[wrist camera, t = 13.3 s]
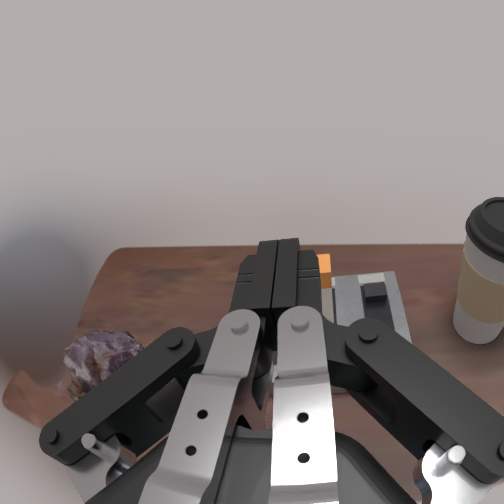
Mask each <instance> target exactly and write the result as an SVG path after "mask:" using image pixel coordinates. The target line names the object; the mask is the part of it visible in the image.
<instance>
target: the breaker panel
mask: <svg viewBox="0 0 504 504" xmlns="http://www.w3.org/2000/svg"><path fill="white" fill-rule="evenodd" d="M331 279H332V300H333V315H334V323H335V324H338V325H343V326H348V327H349V325H350V324H352V323H353V322H354V321H356V320H358V319H362V318H375V319H378V320H381V321H382V322H384V323H385V324H387V325H388V326H389V327H390V328H392V329H393V330H394V331H396V332H397V333H398V334H400V335H401V336H402V337H404V338H405V339H406V340H407V341H409V342H410V343H411V344H412V342H411V337H410V333H409V328H408V324H407V320H406V315H405V311H404V307H403V303H402V299H401V295H400V291H399V287H398V284H397V280H396V276H395V273H394V271H389V272H379V273H369V274H358V275H348V276H336V277H331ZM272 362H273V365H274V373H273V378H272V383H271V388H270V393H269V396H274V380H275V377H277V364H278V351H273V354H272ZM330 389H331V394H341V393H348V392H347V391H346V389H344V388H340V387H336V386H332V385H330Z"/></svg>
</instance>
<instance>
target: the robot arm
mask: <svg viewBox="0 0 504 504" xmlns="http://www.w3.org/2000/svg"><path fill="white" fill-rule="evenodd" d="M273 351H278V364H277V377H275V380H274V400H273V428H271V429H266V424H265V413H266V408H267V403H268V398H269V393H270V388H271V383H272V378H273V373H274V365H273V362H272V354H273ZM174 378H175V379H174ZM173 379H174V380H173ZM171 380H173V381H172V382H170V381H171ZM169 382H170V383H169ZM168 383H169V384H168ZM166 384H168V385H167V386H165V385H166ZM330 385H332V386H336V387H340V388H344V389H346V391H347V392H348V393H349V394H350V395H351V396H352V397H353V398H354V399H355V400H356V401H357V402H358V403H359V404H360V405H361V406H362V407H363V408H364V409H365V410H366V411H367V412H368V413H369V414H370V415H371V416H373V417H374V418H375V419H376V420H377V421H378V422H379V423H380V424H381V425H382V426H383V427H384V428H385V429H386V430H387V431H388V432H389V433H390V434H391V435H392V436H393V437H394V438H396V439H397V440H398V441H399V442H400V443H401V444H402V445H403V446H404V447H405V448H406V449H407V450H408V451H409V452H410V453H411V454H413V455H414V456H415V457H416V458H417V459H418V460H419V461H418V462H417V464H416V466H415V468H414V471H413V479H414V483H415V485H416V486H417V488H418V489H419V490H420V492H421V495H422V504H479V502H480V501H481V500H482V499H483V498H484V497H485V495H486V494H487V493H488V492H489V490H490V489H491V488H492V487H493V486H494V485H495V484H496V483H498V482H499V481H501V480H502V479H504V417H503V416H502V415H501V414H499V413H498V412H497V411H496V410H495V409H493V408H492V407H491V406H490V405H488V404H487V403H486V402H485V401H483V400H482V399H481V398H480V397H478V396H477V395H476V394H475V393H473V392H472V391H471V390H470V389H468V388H467V387H466V386H465V385H463V384H462V383H461V382H460V381H458V380H457V379H456V378H455V377H453V376H452V375H451V374H450V373H448V372H447V371H446V370H445V369H443V368H442V367H441V366H439V365H438V364H437V363H436V362H434V361H433V360H432V359H431V358H429V357H428V356H427V355H425V354H424V353H423V352H422V351H420V350H419V349H418V348H416V347H415V346H414V345H413V344H411V343H410V342H409V341H407V340H406V339H405V338H404V337H402V336H401V335H400V334H398V333H397V332H396V331H394V330H393V329H392V328H390V327H389V326H388V325H387V324H385V323H384V322H382V321H381V320H378V319H375V318H362V319H358V320H356V321H354V322H353V323H352V324H350V325H349V327H348V326H343V325H338V324H335V323H332V322H331V321H329V320H328V319H326V318H325V317H324V315H323V314H322V293H321V279H320V269H319V259H318V257H317V255H316V254H315V252H314V251H313V250H303V251H300V245H299V239H298V238H291V239H281V240H270V241H260V242H259V246H258V251H257V255H248V256H247V257H246V258H245V259H244V261H243V262H242V263H241V264H240V268H239V272H238V277H237V281H236V285H235V289H234V293H233V298H232V302H231V306H230V310H229V313H228V314H227V315H226V316H224V317H223V318H222V320H221V321H220V323H219V326H217V327H216V328H214V329H212V330H209V331H205V332H202V333H198V334H195V335H193V333H192V332H191V331H190V330H189V329H187V328H183V327H178V328H173V329H170V330H168V331H167V332H165V333H164V334H162V335H161V336H160V337H159V338H157V339H156V340H155V341H153V342H152V343H151V344H150V345H148V346H147V347H146V348H145V349H143V350H142V351H141V352H139V353H138V354H137V355H135V356H134V357H133V358H132V359H130V360H129V361H128V362H126V363H125V364H124V365H123V366H121V367H120V368H119V369H117V370H116V371H115V372H114V373H112V374H111V375H110V376H108V377H107V378H106V379H104V380H103V381H102V382H101V383H99V384H98V385H97V386H95V387H94V388H93V389H92V390H90V391H89V392H88V393H86V394H85V395H84V396H82V397H81V398H80V399H78V400H77V401H76V402H75V403H73V404H72V405H71V406H69V407H68V408H67V409H65V410H64V411H63V412H61V413H60V414H59V415H58V416H56V417H55V418H54V419H52V420H51V421H50V422H48V423H47V424H46V425H45V426H44V427H43V429H42V431H41V433H40V438H39V443H40V447H41V449H42V451H43V452H44V453H45V454H47V455H49V456H51V457H52V458H54V459H55V460H57V461H59V462H60V463H62V464H64V465H65V467H66V469H67V471H68V473H69V475H70V477H71V479H72V481H73V483H74V485H75V487H76V489H77V491H78V493H79V494H80V496H81V498H82V500H83V502H84V504H417V503H416V502H415V501H414V500H413V499H412V498H411V497H410V496H409V495H408V494H407V493H406V492H405V491H404V489H403V488H402V487H401V486H400V485H399V484H398V483H397V482H396V481H395V480H394V479H393V478H392V477H391V476H390V475H389V473H388V472H387V471H386V470H385V469H384V468H383V467H382V466H381V465H380V464H379V463H378V462H377V460H376V459H375V458H374V457H373V456H372V455H371V454H370V453H369V452H368V451H367V450H366V449H365V447H364V446H362V445H361V444H360V443H359V442H357V441H356V440H354V439H352V438H351V437H349V436H346V435H344V434H341V433H338V432H335V431H334V423H333V411H332V399H331V389H330ZM164 386H165V387H164ZM163 387H164V388H163ZM161 388H163V389H162V390H160V389H161ZM159 390H160V391H159ZM158 391H159V392H158ZM156 392H158V393H157V394H155V393H156ZM154 394H155V395H154ZM153 395H154V396H153ZM151 396H153V397H152V398H150V397H151ZM149 398H150V399H149ZM265 429H266V430H265ZM169 432H170V434H169V436H168V437H167V438H165V439H164V440H163V441H161V442H160V443H159V444H158V445H157V446H156V447H154V448H153V449H152V450H151V451H150V452H148V453H147V454H146V455H145V456H144V457H142V458H141V459H140V460H139V461H137V462H136V458H137V457H138V456H139V455H141V454H142V453H143V452H144V451H146V450H147V449H148V448H150V447H151V446H152V445H153V444H155V443H156V442H157V441H159V440H160V439H161V438H162V437H164V436H165V435H166V434H167V433H169Z"/></svg>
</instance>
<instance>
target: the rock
mask: <svg viewBox="0 0 504 504" xmlns="http://www.w3.org/2000/svg"><path fill="white" fill-rule="evenodd" d="M143 349H144V348H143V347H142V345H141V344H140V343H138V342H137V341H136V340H135V339H134V338H133V336H132V335H131V334H130V333H129V332H127V331H98V330H95V331H93V332H88V333H86V334H83V335H82V336H81V338H78V339H76V340H75V341H74V342H73V343H72V344H71V346H70V347H68V348H66V349H65V350H64V355H65V359H64V363H65V364H66V365H67V367H68V368H69V369H70V370H71V372H72V373H71V378H72V384H71V385H70V386H69V387H68V389H67V390H68V395H69V396H70V397H71V398H72V399H73V400H74V401H75V402H76V401H77V400H78V399H80V398H81V397H82V396H84V395H85V394H86V393H88V392H89V391H90V390H92V389H93V388H94V387H95V386H97V385H98V384H99V383H101V382H102V381H103V380H104V379H106V378H107V377H108V376H110V375H111V374H112V373H114V372H115V371H116V370H117V369H119V368H120V367H121V366H123V365H124V364H125V363H126V362H128V361H129V360H130V359H132V358H133V357H134V356H135V355H137V354H138V353H139V352H141V351H142V350H143ZM160 390H161V389H160ZM160 390H159V391H160ZM159 391H158V392H159ZM158 392H156V393H155V394H157V393H158ZM155 394H154V395H155ZM154 395H153V396H154ZM153 396H151V397H150V398H152V397H153ZM150 398H149V399H150Z"/></svg>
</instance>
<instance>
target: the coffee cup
mask: <svg viewBox="0 0 504 504" xmlns="http://www.w3.org/2000/svg"><path fill="white" fill-rule="evenodd" d="M466 232H467V235H466V241H465V242H464V246H463V255H462V262H461V269H460V276H459V282H458V288H457V299H456V304H455V309H454V313H453V325H454V328H455V330H456V331H457V333H458V334H459V335H460V336H461V337H462V338H463V339H465V340H466V341H468V342H471V343H474V344H486V343H489V342H491V341H493V340H494V339H495V338H496V337H497V336H498V334H499V333H500V331H501V330H502V328H503V327H504V197H494V198H490V199H487V200H486V201H484V202H483V203H482V204H481V205H479V206H477V207H476V208H475V209H474V210H473V211H472V212H471V214H470V216H469V217H468V219H467V221H466Z"/></svg>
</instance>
